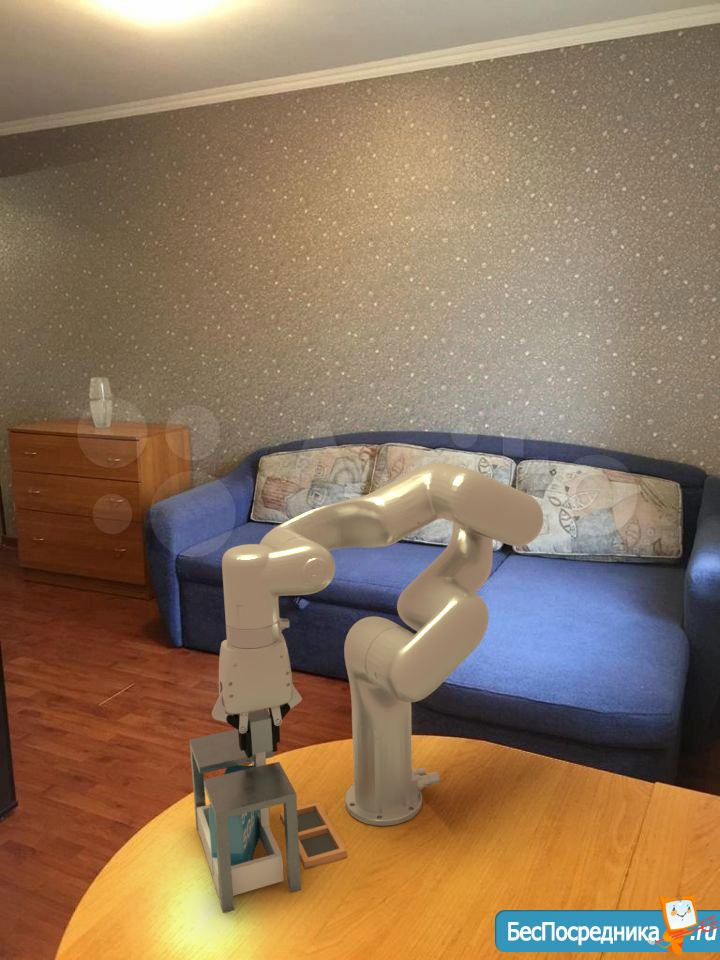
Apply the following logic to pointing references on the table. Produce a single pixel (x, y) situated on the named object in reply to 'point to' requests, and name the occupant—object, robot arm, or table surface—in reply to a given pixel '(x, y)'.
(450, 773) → the table surface
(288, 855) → the tunnel
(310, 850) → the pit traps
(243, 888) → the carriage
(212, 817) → the data package
